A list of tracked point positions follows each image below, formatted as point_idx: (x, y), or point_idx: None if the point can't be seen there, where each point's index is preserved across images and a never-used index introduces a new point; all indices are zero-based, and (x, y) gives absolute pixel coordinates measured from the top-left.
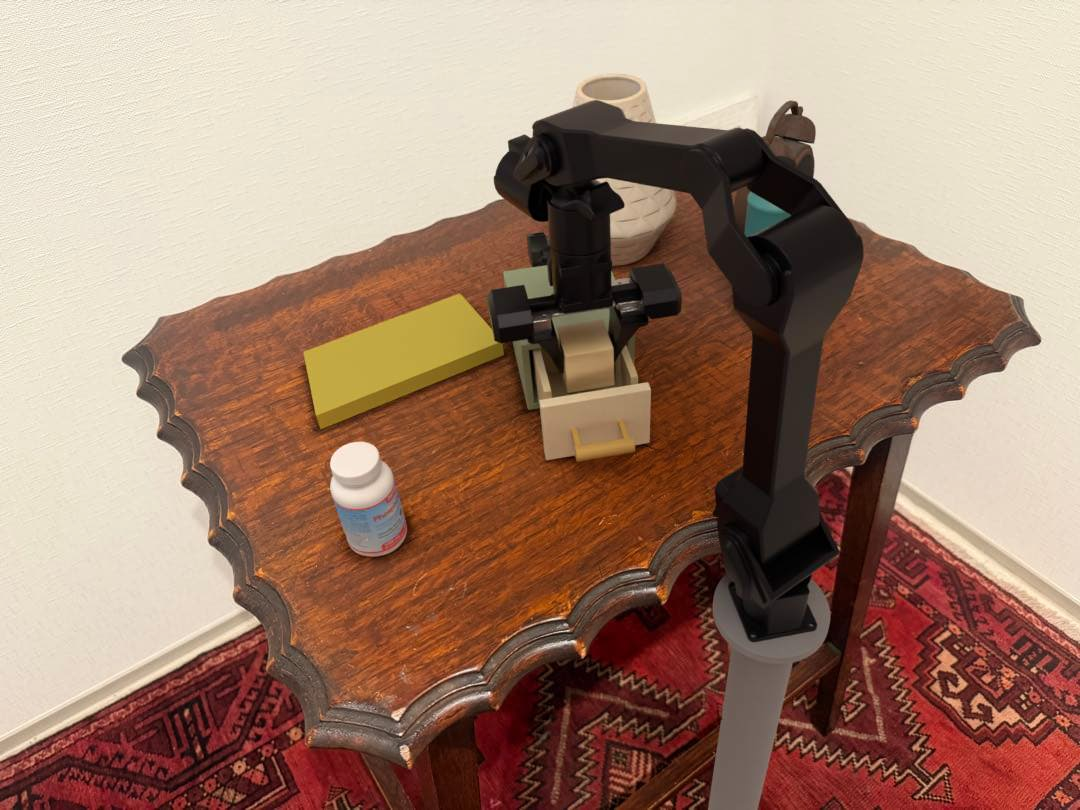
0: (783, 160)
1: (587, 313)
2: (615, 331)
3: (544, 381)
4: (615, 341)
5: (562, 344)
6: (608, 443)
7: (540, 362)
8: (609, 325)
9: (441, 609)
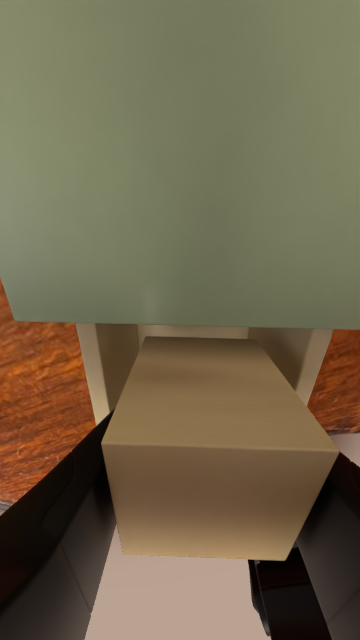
0: None
1: (294, 188)
2: (345, 620)
3: (100, 412)
4: (309, 568)
5: (118, 524)
6: None
7: (92, 356)
8: (343, 514)
9: (42, 468)
